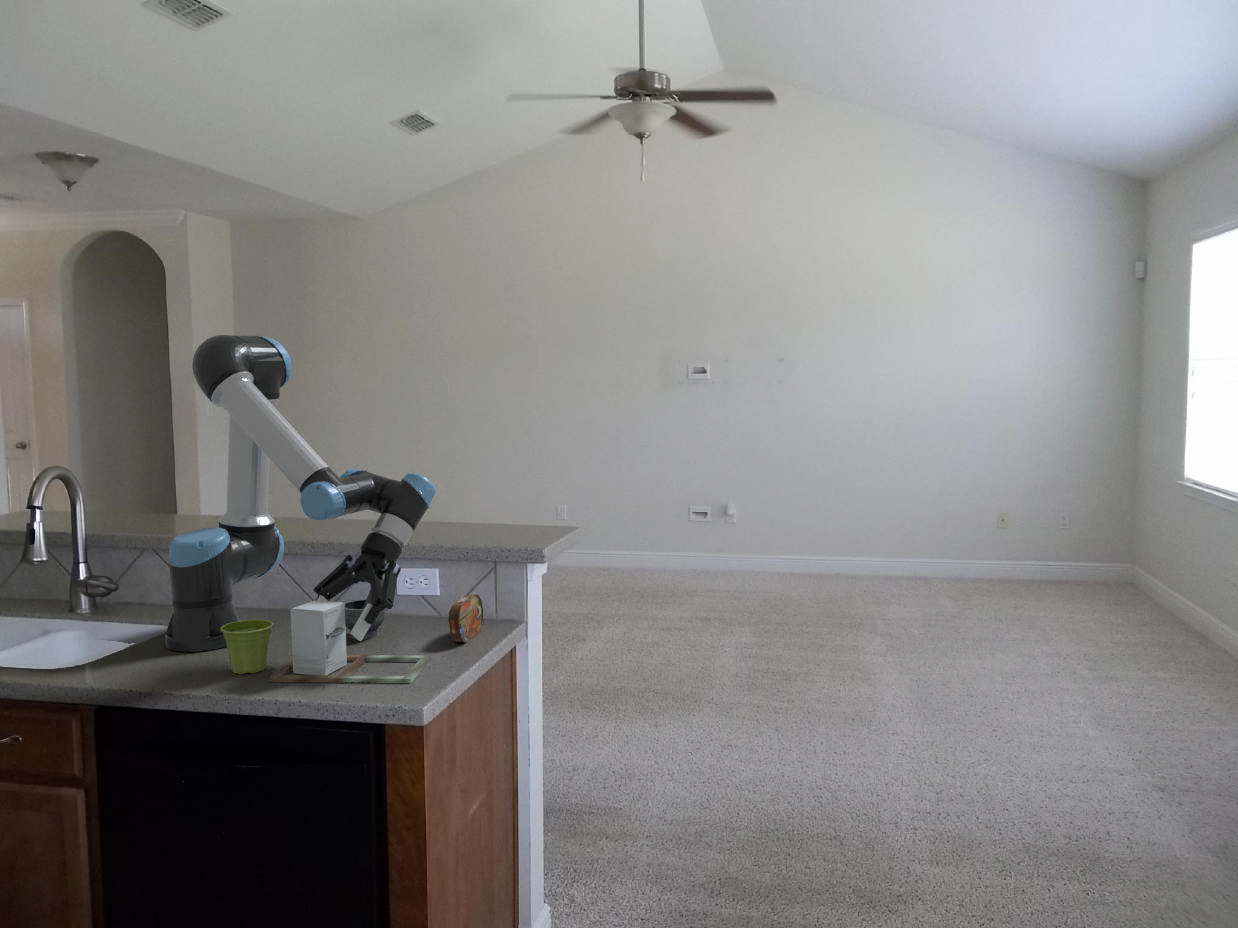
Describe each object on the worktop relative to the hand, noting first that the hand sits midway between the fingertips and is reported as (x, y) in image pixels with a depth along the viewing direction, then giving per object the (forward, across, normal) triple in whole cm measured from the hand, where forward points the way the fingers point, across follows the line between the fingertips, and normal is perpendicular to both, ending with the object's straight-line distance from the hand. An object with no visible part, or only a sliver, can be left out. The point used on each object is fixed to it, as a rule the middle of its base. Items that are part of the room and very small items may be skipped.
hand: (331, 632), depth 182 cm
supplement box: (+6, +1, -4) cm, 8 cm away
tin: (-15, -8, -26) cm, 31 cm away
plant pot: (+11, +14, +1) cm, 18 cm away
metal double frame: (+4, -5, -6) cm, 9 cm away
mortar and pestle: (-8, +12, -19) cm, 24 cm away
